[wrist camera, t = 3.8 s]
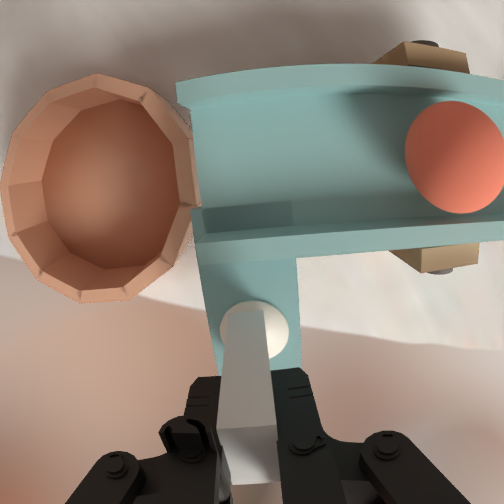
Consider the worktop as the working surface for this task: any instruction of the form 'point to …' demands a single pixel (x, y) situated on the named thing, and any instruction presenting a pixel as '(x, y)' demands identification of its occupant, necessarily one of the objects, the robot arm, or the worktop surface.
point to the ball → (455, 157)
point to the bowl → (100, 188)
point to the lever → (314, 180)
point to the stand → (445, 59)
